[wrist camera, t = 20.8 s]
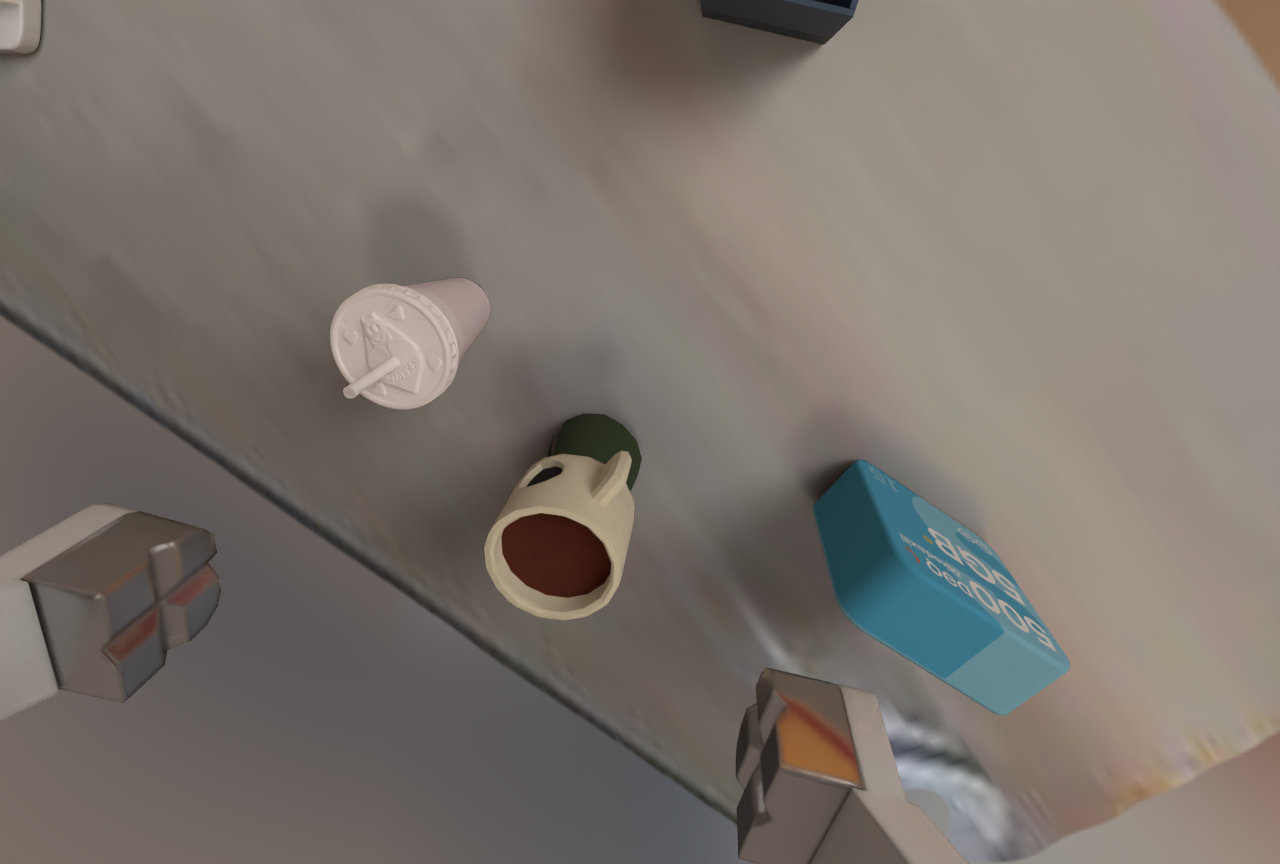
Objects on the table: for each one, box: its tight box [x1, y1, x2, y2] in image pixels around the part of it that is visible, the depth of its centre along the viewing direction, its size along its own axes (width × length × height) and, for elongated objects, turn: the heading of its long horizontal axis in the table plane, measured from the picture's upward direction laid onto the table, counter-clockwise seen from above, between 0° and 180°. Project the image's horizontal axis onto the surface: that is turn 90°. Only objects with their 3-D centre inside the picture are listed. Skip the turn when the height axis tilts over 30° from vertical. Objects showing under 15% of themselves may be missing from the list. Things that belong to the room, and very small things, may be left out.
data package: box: [813, 460, 1070, 715], centre depth 37 cm, size 12×4×12 cm, turn 57°
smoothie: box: [330, 278, 490, 409], centre depth 33 cm, size 6×6×14 cm
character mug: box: [484, 414, 642, 620], centre depth 37 cm, size 11×7×13 cm, turn 142°
